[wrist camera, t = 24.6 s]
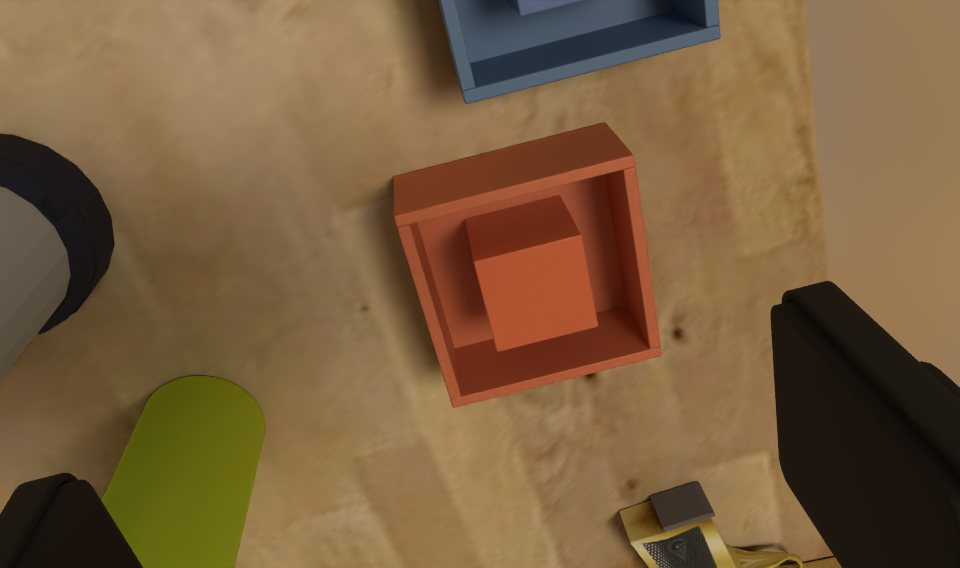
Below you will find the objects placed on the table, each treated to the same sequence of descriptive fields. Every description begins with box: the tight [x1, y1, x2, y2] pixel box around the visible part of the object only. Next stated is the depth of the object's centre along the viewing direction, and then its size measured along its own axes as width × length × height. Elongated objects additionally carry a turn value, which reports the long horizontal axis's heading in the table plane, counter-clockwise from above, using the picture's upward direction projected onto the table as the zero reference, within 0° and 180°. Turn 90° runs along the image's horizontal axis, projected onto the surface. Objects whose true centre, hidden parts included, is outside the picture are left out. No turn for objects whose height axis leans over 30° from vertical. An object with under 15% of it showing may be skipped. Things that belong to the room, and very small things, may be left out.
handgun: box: [619, 482, 842, 568], centre depth 46 cm, size 2×19×12 cm
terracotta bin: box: [393, 123, 662, 408], centre depth 34 cm, size 10×10×4 cm
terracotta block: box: [464, 195, 598, 352], centre depth 34 cm, size 4×4×4 cm
